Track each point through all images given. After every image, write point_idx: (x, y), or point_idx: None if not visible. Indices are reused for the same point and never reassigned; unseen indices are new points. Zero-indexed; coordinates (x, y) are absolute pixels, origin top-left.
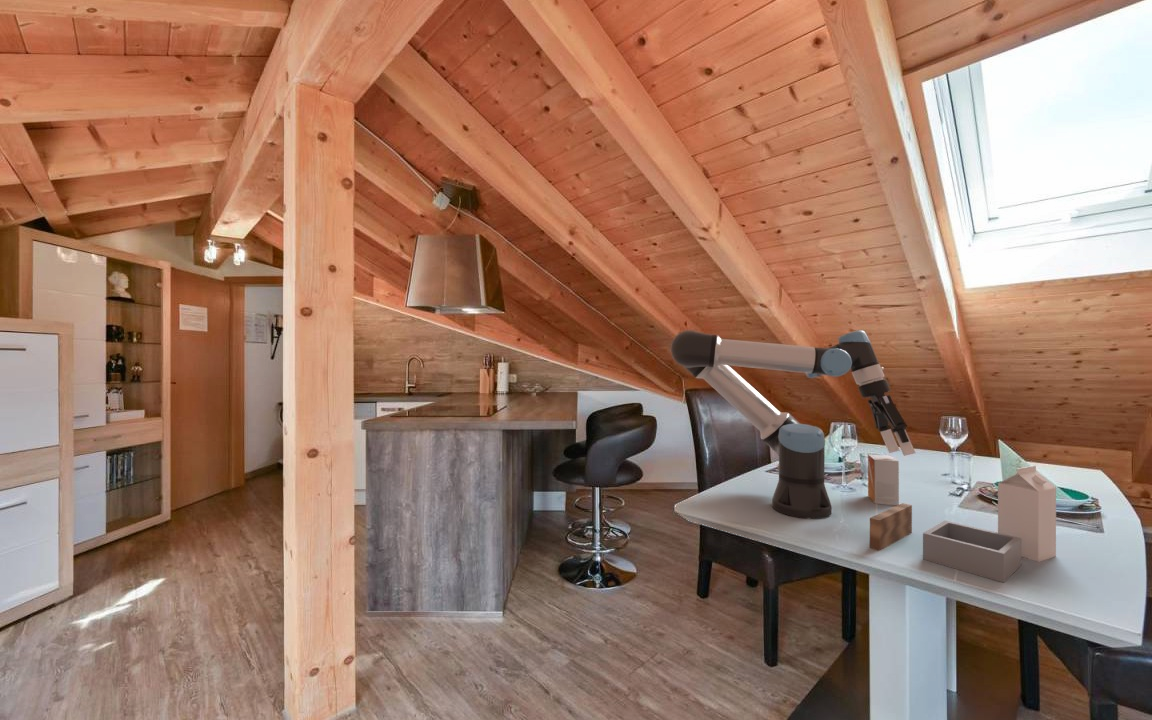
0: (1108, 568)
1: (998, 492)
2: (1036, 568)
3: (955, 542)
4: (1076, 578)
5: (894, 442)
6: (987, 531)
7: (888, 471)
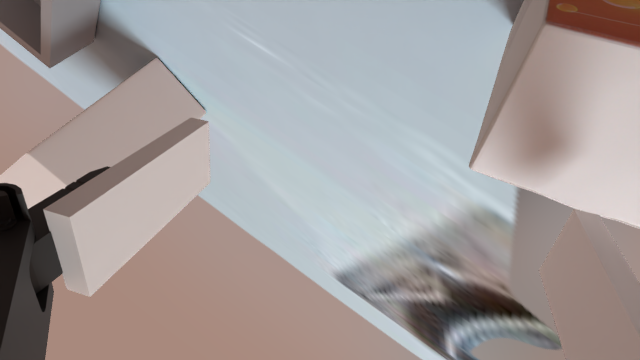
0: None
1: (48, 137)
2: (103, 59)
3: None
4: (100, 87)
5: (562, 318)
6: (42, 27)
7: (505, 73)
